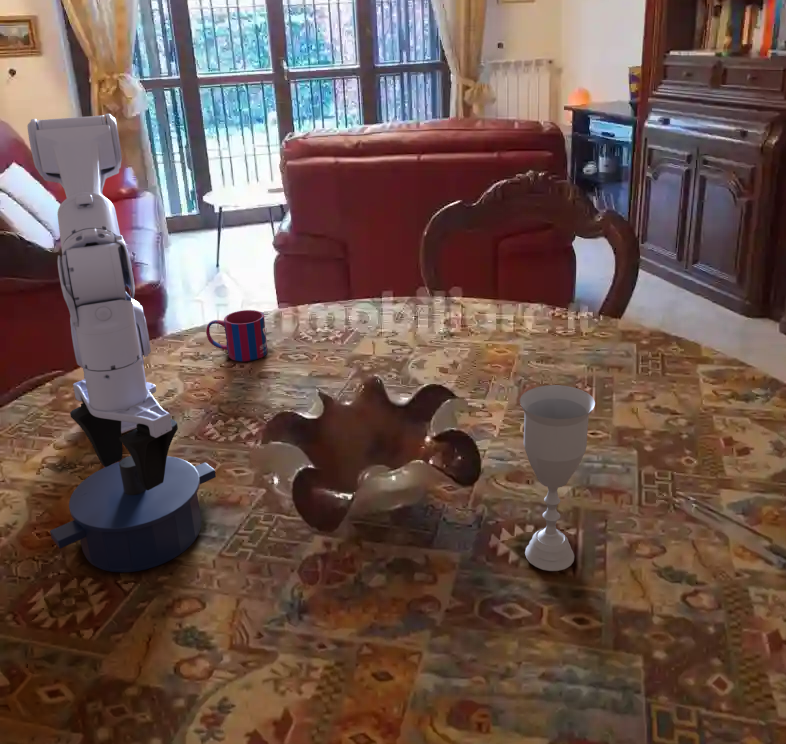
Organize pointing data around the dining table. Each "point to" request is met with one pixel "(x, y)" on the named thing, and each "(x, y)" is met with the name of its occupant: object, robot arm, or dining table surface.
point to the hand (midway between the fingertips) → (132, 473)
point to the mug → (243, 335)
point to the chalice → (554, 460)
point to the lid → (132, 496)
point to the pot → (138, 538)
